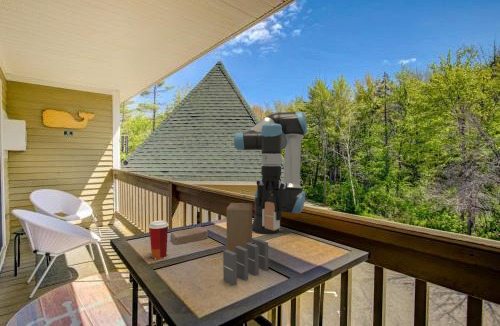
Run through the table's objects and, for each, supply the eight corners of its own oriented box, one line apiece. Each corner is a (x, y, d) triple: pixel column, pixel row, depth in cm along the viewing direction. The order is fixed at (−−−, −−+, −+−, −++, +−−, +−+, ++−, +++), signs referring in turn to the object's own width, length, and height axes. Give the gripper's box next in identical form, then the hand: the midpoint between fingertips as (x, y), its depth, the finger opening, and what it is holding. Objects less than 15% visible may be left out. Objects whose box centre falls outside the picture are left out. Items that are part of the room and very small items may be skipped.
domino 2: (238, 273, 91) (238, 245, 91) (248, 278, 88) (248, 249, 87) (234, 275, 90) (234, 246, 90) (244, 280, 87) (244, 250, 86)
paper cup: (167, 251, 111) (166, 219, 111) (170, 258, 105) (170, 223, 104) (147, 254, 108) (147, 221, 107) (149, 261, 101) (149, 226, 100)
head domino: (274, 230, 96) (274, 203, 96) (264, 227, 100) (264, 201, 99) (277, 229, 97) (277, 203, 97) (267, 227, 101) (267, 201, 100)
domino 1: (227, 278, 88) (227, 249, 87) (236, 283, 84) (236, 253, 84) (223, 280, 87) (223, 250, 86) (232, 285, 83) (232, 255, 83)
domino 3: (248, 269, 95) (248, 242, 94) (258, 274, 91) (258, 245, 91) (245, 270, 94) (245, 243, 93) (255, 275, 90) (255, 247, 90)
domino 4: (258, 265, 98) (258, 239, 98) (268, 269, 95) (268, 242, 94) (255, 266, 97) (255, 240, 97) (265, 271, 93) (265, 243, 93)
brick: (175, 246, 119) (175, 235, 119) (169, 240, 126) (169, 231, 126) (208, 239, 128) (208, 230, 128) (201, 234, 135) (201, 226, 135)
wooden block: (252, 247, 117) (252, 202, 116) (250, 256, 107) (250, 207, 106) (230, 246, 118) (230, 202, 117) (226, 255, 108) (226, 207, 107)
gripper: (247, 164, 102) (247, 224, 102) (283, 166, 88) (283, 234, 89) (261, 164, 107) (260, 220, 107) (297, 165, 94) (296, 230, 94)
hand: (270, 226), depth 98 cm, fingers closed on head domino, 5 cm apart
